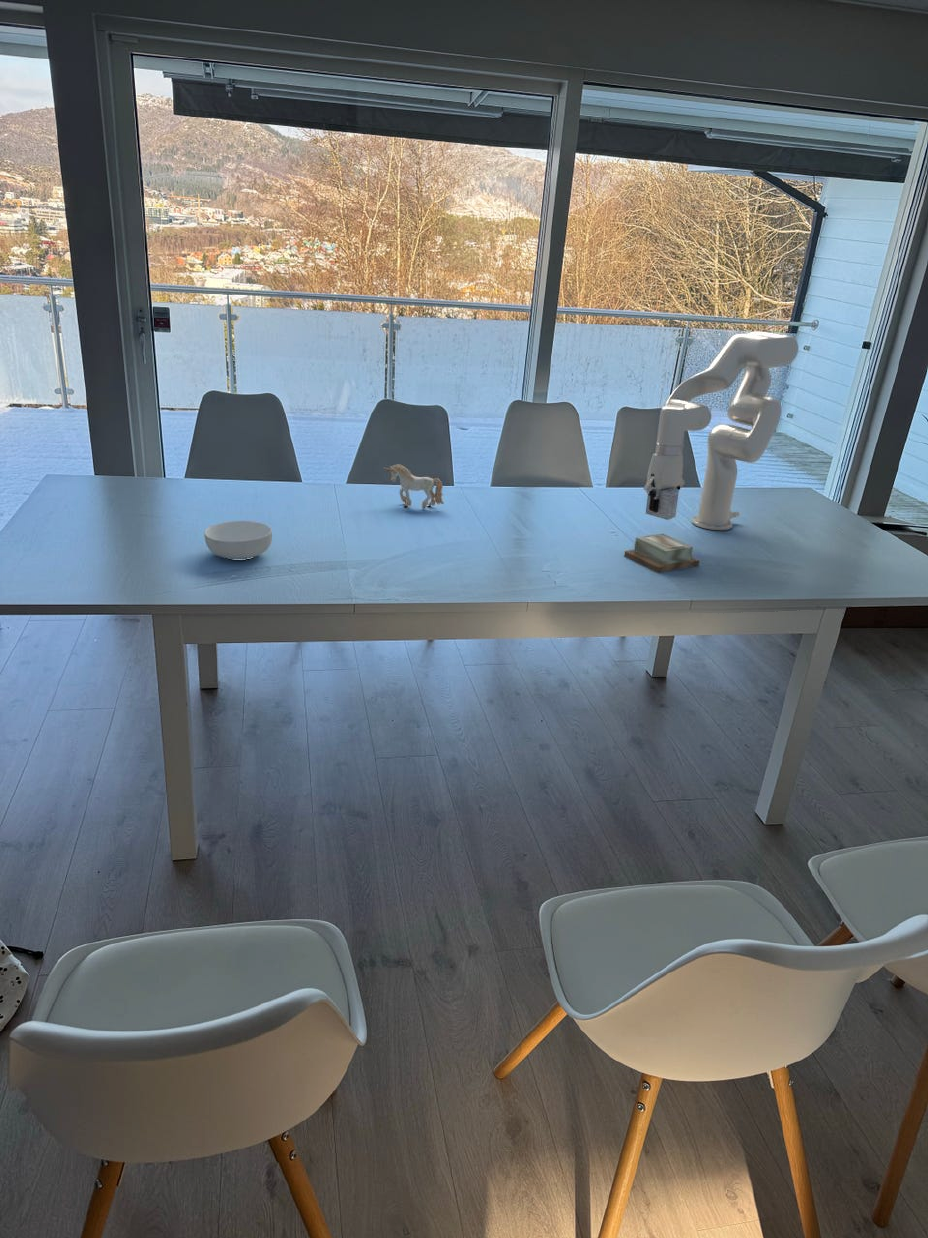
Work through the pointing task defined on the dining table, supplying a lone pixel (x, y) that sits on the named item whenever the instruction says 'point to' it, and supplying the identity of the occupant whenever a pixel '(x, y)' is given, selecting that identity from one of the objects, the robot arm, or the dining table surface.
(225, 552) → the cereal bowl
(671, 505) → the medicine box
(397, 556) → the dining table surface
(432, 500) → the unicorn figurine
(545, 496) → the dining table surface
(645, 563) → the base board
